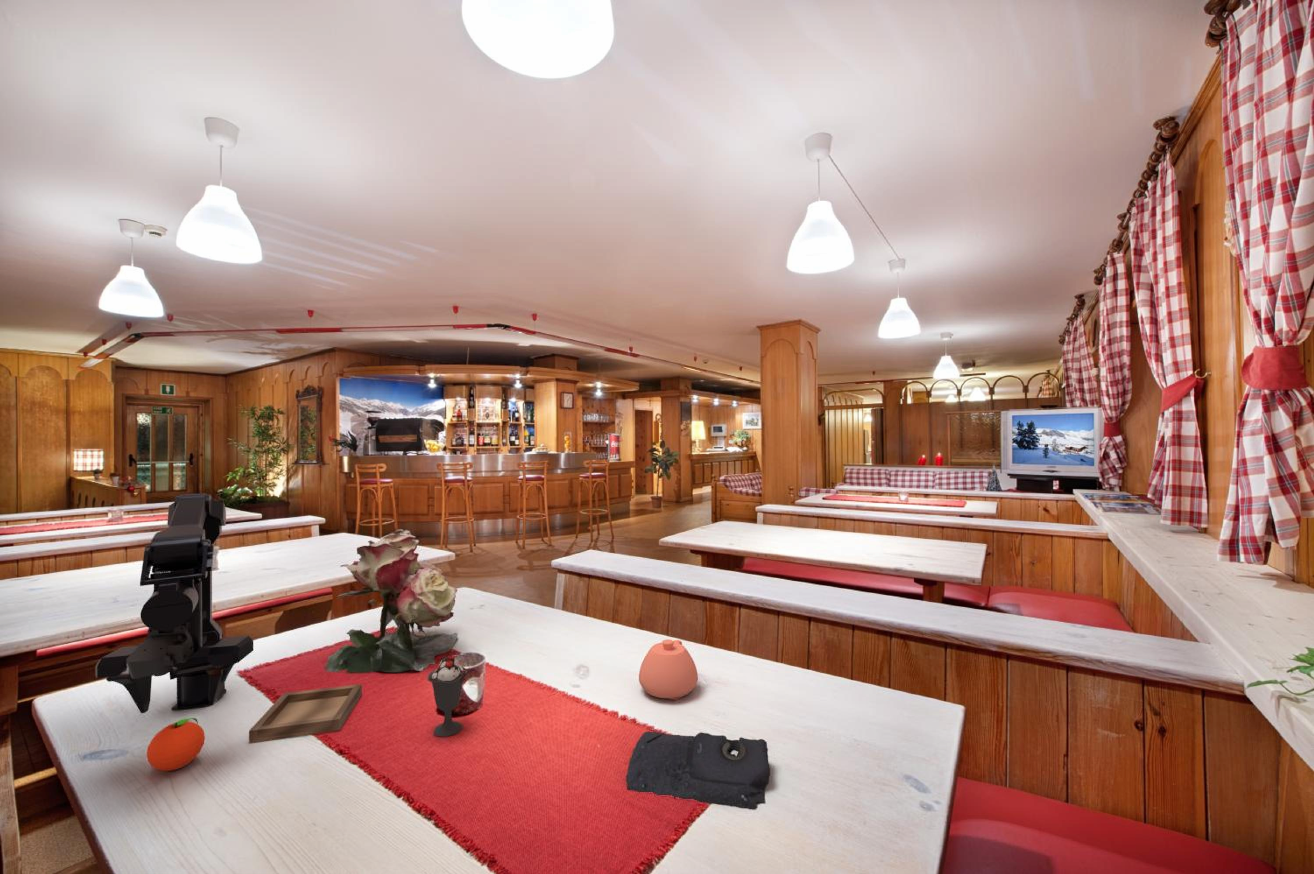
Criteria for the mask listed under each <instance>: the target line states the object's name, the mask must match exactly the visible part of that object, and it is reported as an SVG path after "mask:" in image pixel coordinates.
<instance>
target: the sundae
mask: <svg viewBox="0 0 1314 874" xmlns="http://www.w3.org/2000/svg"><path fill="white" fill-rule="evenodd" d="M450 650H451V651H449V654H448V656H443V657H442V659H441V661H440V662H439V664H440V665H438V667H437V668H436V669H434V670H432V671H431V672H430V673H428V675H427V681H428V682H431V684H432V688H433V689H432V690H433V696H434V702H435V705H436V706H435V707H436V708H438V709H439V710H440V711H442V712H443V713H444V717H443V722H442V723H440V724H438V725H437V726H435V728H434V729H433V731H432V732H433V735H434V736H436V737H439V738H447V737H451V736H454V735H456V734H458V733H459V732H460V731H461V730H462V729H463V724H462V722H461V721H460V722H459V721H455V720H453V715H452V711H453V710H454V709H455V708H456V707H457V706H458V704H459V703H460V699H461V696H462V695H461V694H462V689H463V682H464V681H463V679H464V678H465V677H466V675H467V673H468V669H466V668H465V667H464V666H462V665H461V664H460V663H459V661H458V659H457V658H456V657H455V655H453V654H452V653H453V652H454V649H453V648H451V649H450Z"/></svg>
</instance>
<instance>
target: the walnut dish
mask: <svg viewBox="0 0 1314 874" xmlns="http://www.w3.org/2000/svg"><path fill="white" fill-rule="evenodd" d="M362 685H363V684H361V683H360V684H351V685H343V686H335V687H334V686H333V687H326V688H318V689H309V690H301V691H299V690H298V691H292V692H283V693H282V695H280V696H279V698H278V699H277V700H276V701H275V702H274V703H273V704H272V705H271V707H270V708H269V709H268V710H267V711H266V712H264V714H263V715H262V716H261V717H260V718H259V719H258V720H257V722H256V723H254V725H253V726H252V727H251V728H250V729H249V730H248V743H249V744H252V743H260V742H266V741H274V740H280V739H281V740H282V739H288V738H296V737H297V738H298V737H302V736H310V735H317V734H318V735H319V734H325V733H326V734H327V733H333V732H339V731H340V730H341V729H342V728H343V726H344V724H345V722H346V721H347V719H348V717H349V716H350V715H351V713H352V711H353V709H354V708H355V706H356V705H357V703H358V701H359V700H360V698H361V696H362V695H363V693H362V691H363V690H362V689H363V686H362Z"/></svg>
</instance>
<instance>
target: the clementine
mask: <svg viewBox="0 0 1314 874" xmlns="http://www.w3.org/2000/svg"><path fill="white" fill-rule="evenodd" d="M190 720H194V721H195V722H194V721H190ZM205 738H206V735H205V731H204V729H203V728H202V726H200V724H199V721H198V719H197V718H196V717H190V718H189V717H187V718H186V717H185V718H183V719H180V720H178V721H176V722H173V723H171V724H168V725H166V726H165V727H164V728H162V729H161V730H160V731H158V732H157V733H156V734H155V735H154V737H152V739H150V742H149V744H148V746H147V751H146V758H147V762H148V764H149V765H150V766H151V767H152V768H154V769H155V770H157V771H163V772H169V771H174V770H178V769H181V768H183V767H185V766H187V765H189V763H191V762H192V761H193V760H194V759H196V757H197V756H198V755H199V754H200V752H201V751H202V749H203V747H204V745H205V740H206V739H205Z"/></svg>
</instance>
